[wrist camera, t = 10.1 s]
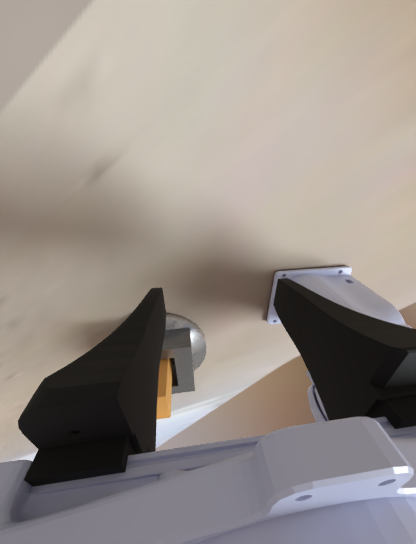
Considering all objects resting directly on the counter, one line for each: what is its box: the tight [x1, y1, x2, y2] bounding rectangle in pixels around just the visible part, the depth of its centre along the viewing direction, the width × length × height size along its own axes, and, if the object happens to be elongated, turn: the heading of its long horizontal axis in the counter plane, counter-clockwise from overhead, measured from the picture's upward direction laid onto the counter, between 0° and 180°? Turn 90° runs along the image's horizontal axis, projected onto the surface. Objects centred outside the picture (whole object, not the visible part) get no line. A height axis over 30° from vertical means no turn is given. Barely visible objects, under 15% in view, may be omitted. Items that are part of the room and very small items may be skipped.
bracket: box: [161, 313, 206, 394], centre depth 26 cm, size 12×12×4 cm
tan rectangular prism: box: [156, 358, 173, 419], centre depth 23 cm, size 3×4×7 cm
